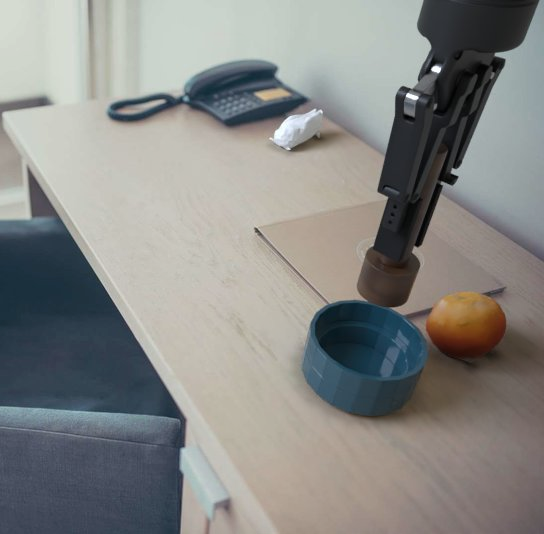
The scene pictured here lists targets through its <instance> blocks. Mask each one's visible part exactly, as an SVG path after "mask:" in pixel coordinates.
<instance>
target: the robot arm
mask: <svg viewBox="0 0 544 534" xmlns="http://www.w3.org/2000/svg"><path fill="white" fill-rule="evenodd" d="M540 1H541V0H422V5H421V8H420V10H419V11H420V12H419V15H418V19H417V22H416V28H417V31H418V33H419V34H420V35H421V36H422V37H423V38H425V39H426V40H427V41H428V43H429V45H430V50H429V51H428V53H427V56H426V58H425V60H424V61H423V63H422V65H421V68H420V70H419V72H418V76H417V82H416V84H415V85H414V87H413V88H411V87H408V86H405V85H401V86H400V87H399V89H397V91H396V92H395V93H396V94H395V97H394V117H393V122H392V125H391V130H390V134H389V138H388V143H387V147H386V152H385V156H384V160H383V163H382V168H381V172H380V177H379V181H378V184H377V189H376V191H377V193H378V194H380V195H382V196H385V197H386V198H387V200H386V203H385V207H384V210H383V213H382V216H381V218H380V219H381V220H380V222H379V225H378V229H377V233H376V236H375V239H374V242H373V245H372V246H373V250H375V251H377V252H379V253H381V254H383V255H385V256H387V257H388V258H390V259H392V260H394V261H396V262H400V261H401V260H402V259H403V257H404V254H405V251H406V248H407V245H408V242H409V239H410V236H411V233H412V231H413V228H414V225H415V222H416V219H417V216H418V213H419V210H420V207H421V204H422V202H423V199H422V198H420V197H419V196H420V193H421V191H422V188H423V186H424V183H425V181H426V178H427V176H428V173H429V171H430V168H431V166H432V163H433V161H434V158H435V156H436V153H437V151H438V148H439V146H440V143H443V144H444V145H446V146H447V148H448V152H447V155H446V158H445V160H444V163H443V166H442V169H441V172H440V175H439V177H438V180H437V183H436V186H435V189H434V192H433V194H432V197H431V200H430V203H429V206H428V209H427V211H426V214H425V217H424V220H423V223H422V226H421V228H420V231H419V234H418V237H417V240H416V242H415V245H414V248H420V247H421V246H422V245H423V243H424V241H425V238H426V235H427V232H428V229H429V227H430V224H431V221H432V218H433V216H434V213H435V210H436V208H437V204H438V201H439V200H440V197H441V193H442V190H443V188H444V185H443V184H442V183H445V184H447V185H449V186H451V187H453V186H454V185H455V184H456V183H457V181H458V180H459V178H460V177H459V175H456V174H454V173H452V170H453V169H454V170H458V169H459V168H460V167H461V165H462V164H463V160H464V158H465V156H466V153H467V151H468V148H469V146H470V143H471V141H472V138H473V136H474V134H475V132H476V129H477V127H478V124H479V122H480V119H481V117H482V115H483V113H484V109H485V107H486V105H487V102H488V100H489V97H490V95H491V93H492V90H493V88H494V86H495V84H496V82H497V81H498V78H499V76H500V75H501V72H502V71H503V70H504V67H506V66H505V65H506V58H504V57H502V56H501V57H500V56H498V55H496V54H498V53H505V52H506V53H507V52H510V51H512V50H513V51H514V50H515V49H516V48H519V47H520V46H522V44H523V43H524V41H525V40H526V36H527V34H528V31H529V29H530V26H531V24H532V22H533V18H534V16H535V13H536V11H537V8H538V5H539V3H540Z"/></svg>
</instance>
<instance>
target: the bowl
mask: <svg viewBox="0 0 544 534" xmlns="http://www.w3.org/2000/svg"><path fill="white" fill-rule="evenodd" d="M302 351H303V352H302V356H301V371H302V375H303V376H304V379H305V382H306V383H307V385H308V386H309V387H310V388H311V390H313V392H314V393H315V394H316V395H317V396H318V397H319V398H321V399H322V400H324V401H325V402H326V403H328V404H330V405H331V406H333V407H335V408H337V409H340V410H341V411H345V412H348V413H349V414H355V415H361V416H366V417H369V416H370V417H374V416H386V415H390V414H392V413H395V412H397V411H401V409H403V408H404V407H405V406H406V405H407V404H408V403H409V402H410V401H412V398H413V395H414V393H415V390H416V388H417V386H418V383H419V381H420V379H421V377H422V373H423V371H424V369H425V367H426V364H427V361H428V358H429V354H430V352H429V347H428V341H427V339H426V337H425V336H424V334H423V333H422V331H421V329H420V328H419V327H418V326H417V325H416V324H415V323H414V322H412V321H411V320H410V319H409V318H408V317H407V316H405V315H403V314H402V313H400V312H399V311H397V310H394V308H388V307H381V306H377V305H375V304H372V303H370V302H368V301H367V300H360V299H347V300H338V301H335V302H332V303H327V304H325V305H324V306H322V307H321V308H320V309H319V310H318V311H316V312H315V314H314V315H313V317H312V319H311V320H310V323H309V327H308V331H307V334H306V338H305V343H304V348H303V350H302Z"/></svg>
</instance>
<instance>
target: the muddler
mask: <svg viewBox="0 0 544 534" xmlns="http://www.w3.org/2000/svg"><path fill="white" fill-rule="evenodd" d="M447 152H448V148H447V146H446V145H444V144H443V143H440V146H439V148H438V151H437V153H436V156H435V158H434V161H433V163H432V166H431V168H430V171H429V173H428V176H427V178H426V181H425V183H424V186H423V188H422V191H421V193H420V196H419V197H420V198H422V199H423V202H422V204H421V207H420V210H419V213H418V216H417V219H416V222H415V225H414V228H413V231H412V233H411V236H410V239H409V242H408V245H407V248H406V251H405V254H404V257H403V259H402V260H401V261H400V262H396V261H394V260H392V259H390V258H388V257H387V256H385V255H383V254H381V253H379V252H377V251H375V250H373V245H372V246H370V247H368V249H367V250H366V252H365V255H364V258H363V262H362V266H361V268H360V272H359V275H358V278H357V283H356V290H357V292H358V294H359V295H360V296H361V298H362V299H364V301H368V302H370V303H372V304H375V305H377V306H381V307H388V308H390V309H394V308H399V307H401V306H403V305H405V304H406V303H407V302H408V301H409V298H410V296H411V293H412V290H413V287H414V285H415V282H416V280H417V278H418V274H419V271H420V268H421V262H420V259H419V258H418V256H417V255H416V254H414V253H413V250H414V248H415V246H414V245H415V242H416V240H417V237H418V234H419V231H420V228H421V226H422V223H423V220H424V217H425V214H426V211H427V209H428V206H429V203H430V200H431V197H432V194H433V192H434V189H435V186H436V183H437V180H438V177H439V175H440V172H441V169H442V166H443V163H444V160H445V158H446V155H447Z"/></svg>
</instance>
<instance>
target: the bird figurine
mask: <svg viewBox="0 0 544 534" xmlns="http://www.w3.org/2000/svg"><path fill="white" fill-rule="evenodd" d="M323 114H324V111H323V109H319V110H318V108H313V109H312V110H311V111H309V112H307V113H304V114H294V115H290V116H288V117H287V118H285V120H283V122H282V123H281V125H280V126H279V128H277V129H275V131H274V134H273V137H269V141H272V142H273V143H274V144H276V145H277V146H279V147H282V148H284V149H285V150H287V151H291V150H292V149H293V148H295V147H296V146H298V145H301V144H303V143H304V142H306V141H308V140H311V138H313V137H314V136H315V137H316V136H317V138H318V139H320V138H321V133H320V131H319V130H320V128H321V127H322V124H323V119H324V115H323Z"/></svg>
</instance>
